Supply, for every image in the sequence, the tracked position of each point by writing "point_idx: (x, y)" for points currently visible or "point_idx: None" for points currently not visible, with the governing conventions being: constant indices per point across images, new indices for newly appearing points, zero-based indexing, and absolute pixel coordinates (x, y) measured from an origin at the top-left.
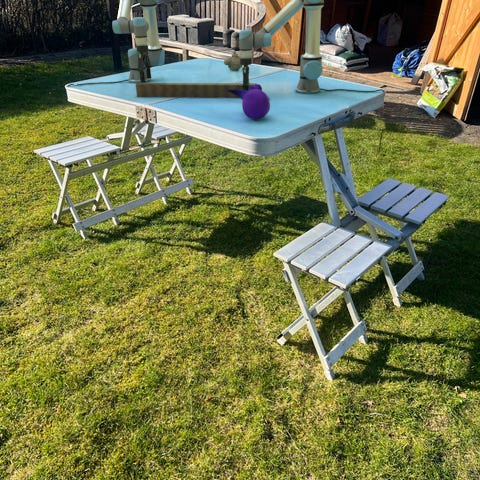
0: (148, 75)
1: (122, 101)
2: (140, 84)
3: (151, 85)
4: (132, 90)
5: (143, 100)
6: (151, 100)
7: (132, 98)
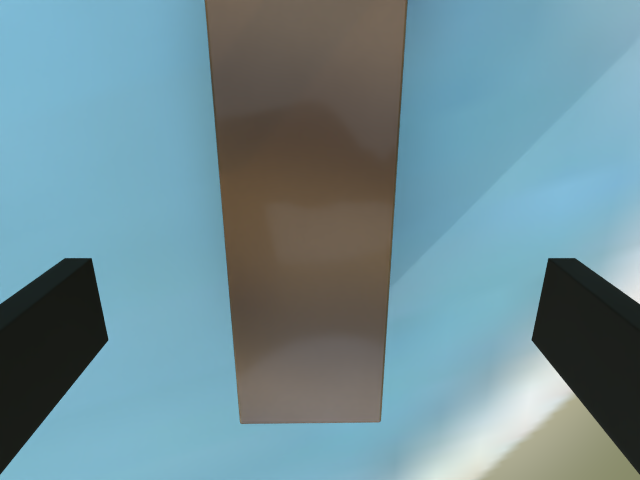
0: (66, 343)
1: (559, 395)
2: (379, 353)
3: (393, 151)
4: (55, 451)
5: (547, 194)
6: (564, 86)
7: (432, 344)
